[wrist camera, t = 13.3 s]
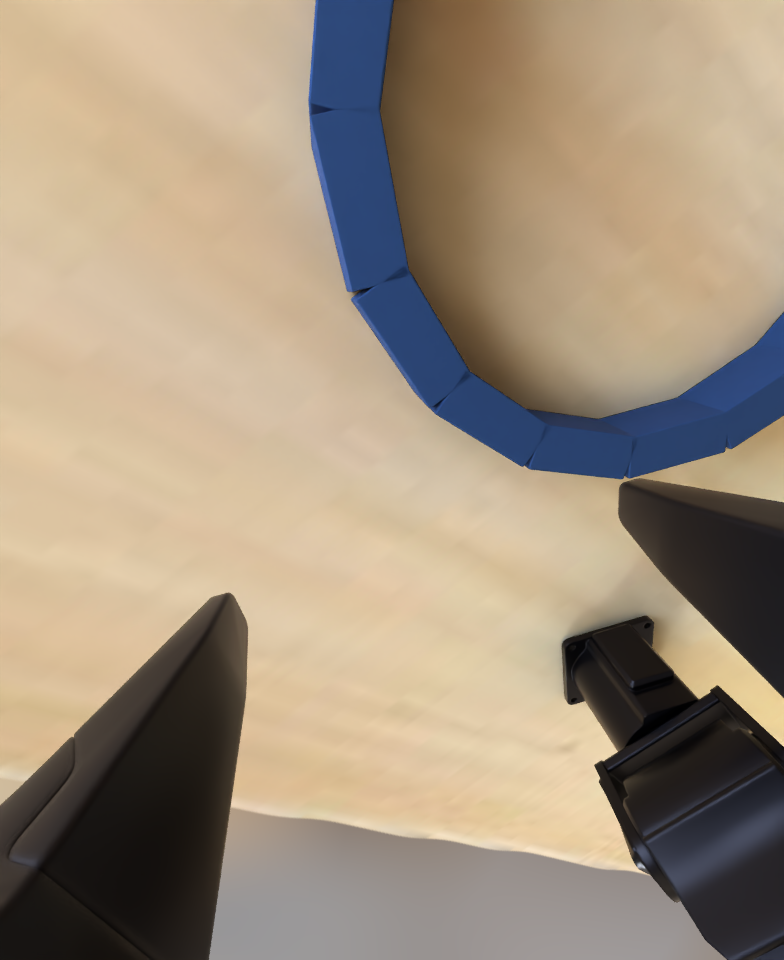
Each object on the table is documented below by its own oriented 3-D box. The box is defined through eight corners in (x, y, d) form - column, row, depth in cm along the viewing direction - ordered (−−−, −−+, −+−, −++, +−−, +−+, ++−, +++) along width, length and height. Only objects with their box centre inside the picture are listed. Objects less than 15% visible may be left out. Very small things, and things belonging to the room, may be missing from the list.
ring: (858, 384, 24) (927, 396, 21) (400, 510, 23) (411, 539, 20) (1114, -536, 12) (1344, -776, 9) (182, -379, 11) (136, -604, 8)
